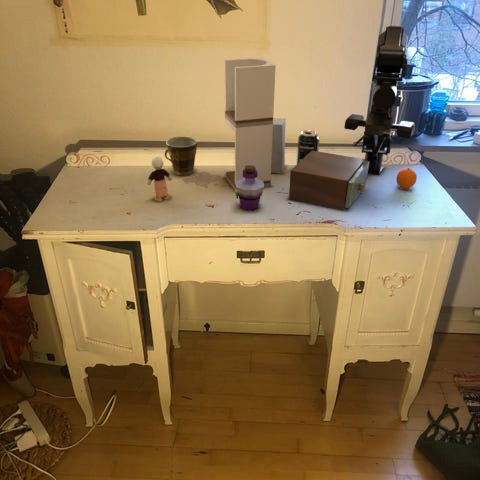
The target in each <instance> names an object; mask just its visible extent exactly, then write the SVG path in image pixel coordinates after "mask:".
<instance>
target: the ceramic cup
mask: <svg viewBox="0 0 480 480" xmlns="http://www.w3.org/2000/svg"><path fill="white" fill-rule="evenodd" d="M165 145H166V150H165V151H164V157H165V159H167V160H168V161H170V163H171V167H172V171H173V174H174V175H177V176H189V175H191V174H193V173H194V169H195V162H196V154H197V148H198V140H197V139H196V138H194V137H192V136H191V137H190V136H176V137H170V138H169V139H167V140H166V141H165ZM167 154H168V155H169V157H168V156H167Z"/></svg>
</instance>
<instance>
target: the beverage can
mask: <svg viewBox="0 0 480 480" xmlns="http://www.w3.org/2000/svg"><path fill="white" fill-rule="evenodd" d="M319 146H320V136H319V132H317V131H316V130H312V129H305V130H302V131H300V134H299V136H298V139H297V151H296V152H297V153H296V155H297V156H296V165H297V164H298V163H299V162H300V161H301V160H302V159H304V158H305V157H306V156H307V155H308V154H309V153H310V152H311V151H318V152H319V149H320V147H319Z"/></svg>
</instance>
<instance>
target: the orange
mask: <svg viewBox="0 0 480 480" xmlns="http://www.w3.org/2000/svg"><path fill="white" fill-rule="evenodd" d="M395 178H396V179H395V180H396V183H397V185H398V187H399V189H401V190H403V191H408V190H410V189H411V188H412V187H413V186H415V185H416V182H417V181H418V180H417V178H418V177H417V173H416V172H415V171H414V169H411V168H410V167H409V168H403V169H400V171H399V172H398V173H397V175H396V177H395Z"/></svg>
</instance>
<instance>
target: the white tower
mask: <svg viewBox="0 0 480 480" xmlns="http://www.w3.org/2000/svg"><path fill="white" fill-rule="evenodd" d="M223 63H224V67H223V69H224V72H223V74H224V75H223V76H224V123H225V124H226V125H227V126H228V127H230V129H231V130H232V131H233V132H234V170H230V171H225V179H226V181H227V182H228V183H229V185H230V186H231V187H232V188H233V190H234V191H235V192H236V182H237V181H239V180H242V179H245V178H244V177H243V170H245V166H247V165H252V166H255V167H256V170H257V177H256V178H255V179H257V180H260V181H262V182H264V188H269V187H271V182H272V181H271V179H272V173H271V158H272V135H273V118H274V109H275V88H276V87H275V85H276V64H274V63H272V62H271V61H269V60H267V59H266V58H264V57H250V58H249V57H248V58H247V57H246V58H233V59H231V58H230V59H224V60H223Z"/></svg>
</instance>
